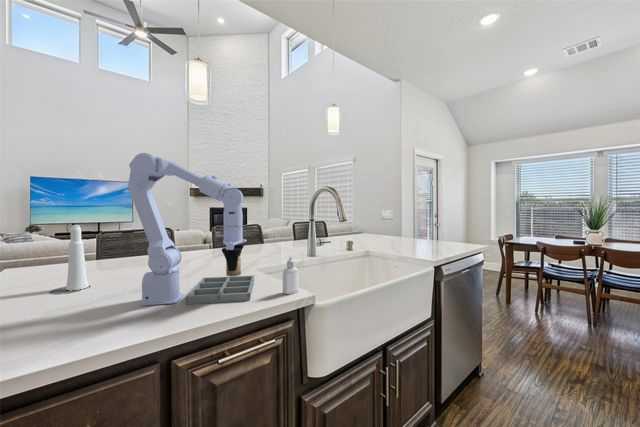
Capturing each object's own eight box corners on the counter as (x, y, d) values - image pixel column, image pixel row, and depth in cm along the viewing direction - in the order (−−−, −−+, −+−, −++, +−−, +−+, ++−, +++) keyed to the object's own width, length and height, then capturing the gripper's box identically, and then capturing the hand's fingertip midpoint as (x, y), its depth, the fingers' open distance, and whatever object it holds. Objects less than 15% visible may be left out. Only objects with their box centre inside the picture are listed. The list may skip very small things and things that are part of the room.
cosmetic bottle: (78, 291, 92) (76, 226, 91) (60, 291, 92) (58, 226, 91) (93, 285, 98) (91, 224, 97) (76, 285, 98) (75, 224, 97)
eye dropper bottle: (300, 293, 90) (300, 257, 89) (283, 295, 88) (283, 258, 88) (297, 289, 94) (297, 255, 94) (281, 291, 92) (281, 256, 92)
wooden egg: (225, 276, 84) (225, 255, 84) (227, 272, 88) (227, 252, 88) (240, 275, 85) (239, 254, 84) (241, 272, 89) (241, 252, 89)
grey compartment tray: (185, 304, 80) (185, 296, 80) (203, 283, 101) (203, 277, 101) (250, 300, 83) (249, 293, 83) (254, 281, 104) (254, 275, 104)
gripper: (243, 227, 79) (244, 274, 80) (248, 224, 94) (248, 263, 94) (218, 228, 78) (218, 275, 79) (227, 224, 92) (227, 264, 93)
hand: (233, 268), depth 86 cm, fingers closed on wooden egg, 4 cm apart
